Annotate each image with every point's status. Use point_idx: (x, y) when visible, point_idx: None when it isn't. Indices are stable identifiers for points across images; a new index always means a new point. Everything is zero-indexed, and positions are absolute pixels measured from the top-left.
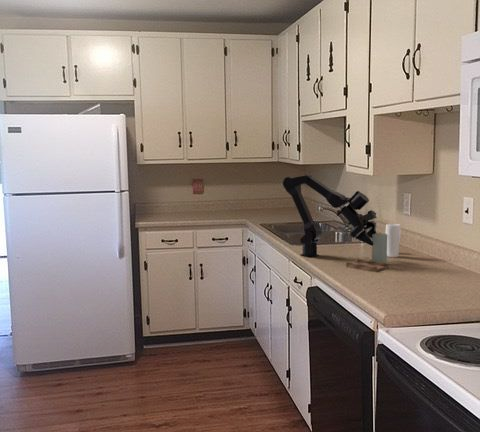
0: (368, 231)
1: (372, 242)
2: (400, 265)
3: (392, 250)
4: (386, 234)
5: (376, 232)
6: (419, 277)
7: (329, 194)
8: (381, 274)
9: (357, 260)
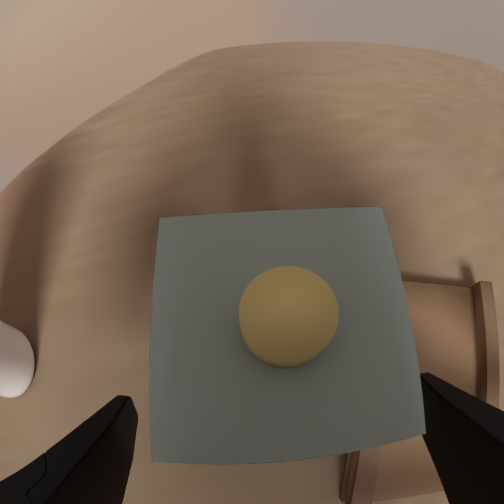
0: None
1: (440, 381)
2: None
3: (9, 346)
4: (210, 215)
5: (22, 471)
6: (408, 127)
7: None
8: (487, 250)
9: (369, 501)
